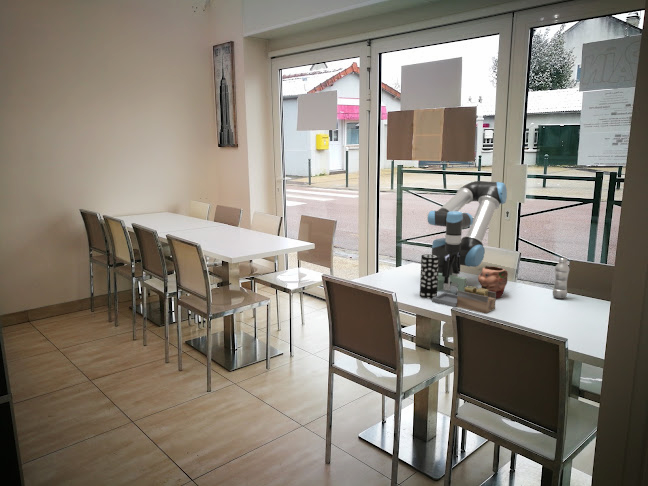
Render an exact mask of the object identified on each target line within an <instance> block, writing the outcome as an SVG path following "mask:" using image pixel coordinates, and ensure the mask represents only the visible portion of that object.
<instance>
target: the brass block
mask: <svg viewBox="0 0 648 486" xmlns="http://www.w3.org/2000/svg"><path fill="white" fill-rule="evenodd" d="M477 289H478V287H476V286H471V285H466V287H465V292H468V293H473V294H476V290H477Z"/></svg>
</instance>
